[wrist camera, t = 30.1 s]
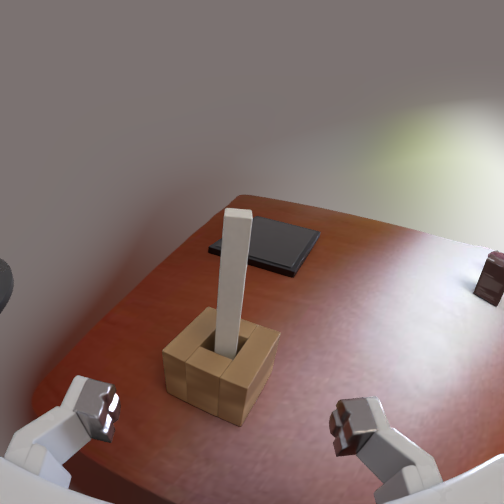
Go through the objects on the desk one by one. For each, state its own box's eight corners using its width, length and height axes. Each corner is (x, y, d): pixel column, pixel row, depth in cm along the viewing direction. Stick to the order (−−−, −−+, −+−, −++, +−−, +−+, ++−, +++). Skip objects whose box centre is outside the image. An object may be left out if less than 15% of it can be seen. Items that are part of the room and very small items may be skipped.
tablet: (293, 277, 42) (294, 271, 42) (208, 252, 47) (208, 246, 46) (319, 236, 59) (320, 231, 59) (256, 220, 64) (256, 215, 63)
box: (500, 298, 42) (514, 265, 39) (496, 307, 39) (512, 272, 36) (477, 285, 47) (490, 252, 44) (472, 293, 43) (486, 258, 40)
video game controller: (483, 272, 57) (485, 249, 54) (494, 265, 57) (496, 242, 54) (507, 292, 49) (512, 267, 46) (518, 284, 48) (522, 260, 45)
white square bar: (212, 390, 23) (224, 215, 16) (213, 376, 24) (225, 207, 18) (231, 392, 23) (252, 218, 17) (232, 378, 24) (251, 209, 18)
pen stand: (166, 392, 22) (161, 350, 20) (206, 347, 27) (208, 306, 25) (240, 427, 20) (247, 388, 18) (271, 373, 25) (281, 332, 23)
